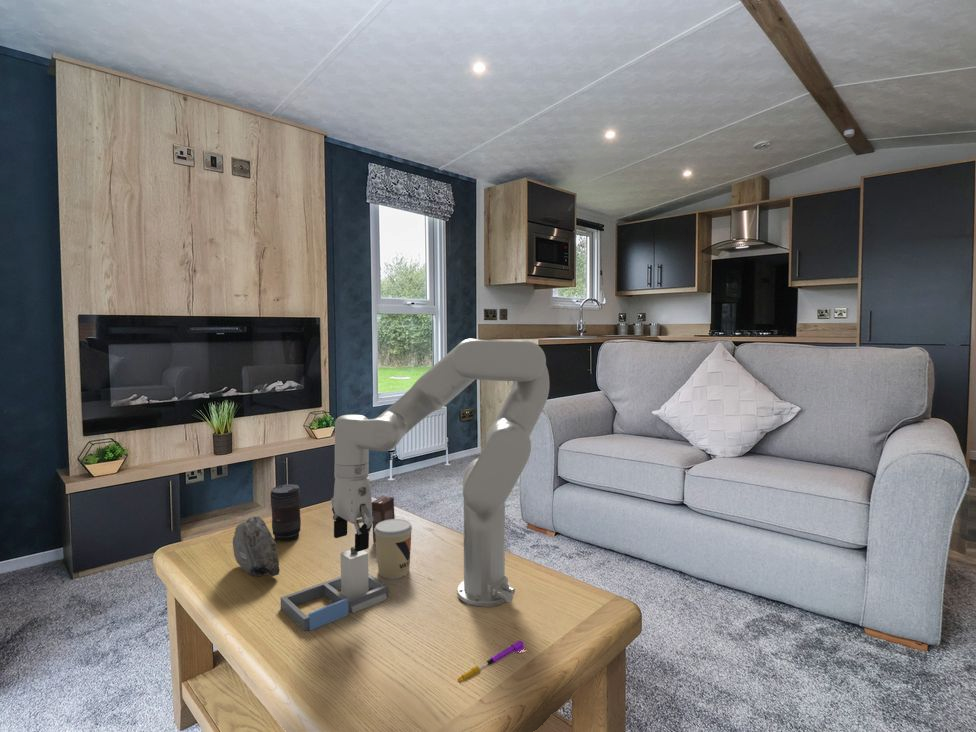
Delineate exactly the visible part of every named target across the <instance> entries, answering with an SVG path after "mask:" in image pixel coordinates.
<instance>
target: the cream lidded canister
mask: <svg viewBox="0 0 976 732" xmlns="http://www.w3.org/2000/svg"><path fill="white" fill-rule="evenodd" d="M412 530H413V525H412V523H411V521H409V520H406V519H403V518H402V519H401V518H395V519H390V520H385V521H382V522H379V523H378V524H377V525H376V527H375V529H374V531H375V538H376V543H375V549H376V559H377V560H376V561H377V569H378V570H377V572H378V575H379V576H380V577H382V578H386V579H397V578H402V577H404V576H406V575H407V574H408V573H409V572H410V565H411V548H412Z"/></svg>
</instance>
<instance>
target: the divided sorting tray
mask: <svg viewBox="0 0 976 732" xmlns="http://www.w3.org/2000/svg"><path fill="white" fill-rule="evenodd" d="M368 580H369V589H370V591H369V592H366V593H363V594H361V595H358V596H356V597H353V598H351V599H348V598H346V597H345V596H344V595H342V594H341V592H340V591H339V590H341V575H340V576H337V577H335V578H332V579H329V580H326V581H324V582H323V581H322V582H320V583H317V584H315V585H313V586H309V587H307V588H304V589H300V590H298V591H296V592H292V593H290V594H287V595H284V596H281V597H280V609H281V610H282V611H283V613H285V614H286V615H287V616H288V617H289V618H290V619H291V620H292V621H293V622H294V623H295V624H296V625H297V626H298V627H299V628H300V629H301V630H303V632H306V631H308V630H309V631H314V630H315V629H318V628H320V627H323V626H325V625H327V624H330V623H333V622H334V621H337V620H339V619H341V618H344V617H347V616H349V614H350V613H351V614H355V613H356V612H359V611H361V610H364V609H366V608H368V607H371V606H374V605H376V604H379V603H381V602H383V601H386V600H387V598H389V595H390V594H389V591H390V589H389V585H387V584H386V583H384V582H383V581H381V580H380V579H378V578H377V577H375V576H374V575H372V574H371V573H369V572H368ZM323 596H324V597H325V598H326V599H328V600H329V601H330V602H331V603H330V604H328V605H325V606H322V607H320V608H318V609H315V610H313V611H309V612H308V614H307V615H306V613H305V612H303V611H302V610H301V609H300V608H299V607H298V606H299V605H301V604H304V603H306V602H309V601H312V600H314V599H315V600H316V599H317V598H319V597H323ZM297 605H298V606H297Z"/></svg>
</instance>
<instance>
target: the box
mask: <svg viewBox="0 0 976 732" xmlns="http://www.w3.org/2000/svg"><path fill="white" fill-rule="evenodd" d="M372 516H373V518H374V519H373V523H372V537H373V538H372V540H373V541H372V543H375V544H376V538H375V531H374V529H375V527H376V525H377V524H378V523H379V522H382V521H385V520H390V519H396V517H395V497H394V496H385V495H384V496H383V495H382V496H380V497H379V498H377V499H375V500H372Z"/></svg>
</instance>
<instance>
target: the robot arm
mask: <svg viewBox="0 0 976 732" xmlns="http://www.w3.org/2000/svg"><path fill="white" fill-rule="evenodd" d="M475 380H477V381H479V380H480V381H491V382H492V381H493V382H495V381H496V382H512V383H511V384H512V385H511V388H510V391H509V393H508V394H507V397H506V399H505V400H504V403H503V405H502V407H501V408H500V411H499V412H498V414H497V416H496V418H495V420H494V421H493V423H492V424H491V426H490V427H489V429H488V431H487V433H486V437H485V438H486V439H485V444H484V447H483V449H482V450H481V452H480V454H479V455H478V457H477V458H474V459H473V460H472V461H470V463H468V465H467V466H466V467H465V470H464V472H463V477H462V497H463V580H462V581H461V582H459V584H458V586H457V589H456V592H457V594H456V595H457V596H458V598H459V599H460V601H462V602H464V604H465V603H466V604H468V605H471V606H475V607H494V606H498V605H501V604H502V603H505V602H506V603H510V602H511V600H512V598H513V596H514V595H515V593H516V589H515V588H514V587H512V586H511V584H510V583H509V577H508V576H507V575H505V574H506V571H505V569H506V566H505V565H506V562H505V561H506V557H505V554H506V553H505V552H506V551H505V549H506V547H505V546H506V545H505V544H506V543H505V542H506V541H505V540H506V535H505V534H506V533H505V532H506V530H505V528H506V503H505V502H506V501H507V499H508V498H509V496H510V495H511V492H512V491H513V489H514V487H515V485H516V484H517V482H518V480H519V478H520V476H521V475H522V473H523V470H525V467H526V465H527V463H528V461H529V458H530V456H531V451H532V441H531V438H530V436H531V434H532V433H533V430H534V428H535V426H536V424H537V423H538V420H539V419H540V416H541V413H542V412H543V410H544V408H545V406H546V403H547V400H548V397H549V393H550V374H549V369H548V367H547V357H546V353H545V352H544V350H543V348H542V347H541V346H539V345H538V344H537V343H535V342H532V341H530V340H525V339H523V340H522V339H521V340H488V339H477V338H467V339H464V340H462V341H461V342H459V343H458V344H457V345H456V346H455V347H454V348H453V349H451V350H450V351H449V352H448V353H447V354H446V355H445V356H443V357H442V358H441V359H440V360H439V361H437V363H435V364H434V365H433V366H431V368H429V369H428V370H427V371H426V372H425V373H423V375H421V376H420V377H419V378H418V379H417V380H416V381H415V383H414V384H413V385H412V386H411V387H410V388H409V389H408V390H407V391H406V392H405V393H404V394H403V395H402V396H401V397H400V398H398V399H397V400H396V401H395V402H394V403H393V404H392V405H391V406H389V407H388V408H386V410H384V411H383V412H382V413H381V414H379V415H378V416H377V417H376V418H370V419H369V418H368V417H366V416H365V415H362V414H343V415H340V416H339V417H337V418H336V419H335V422H334V473H333V474H334V484H333V485H334V486H333V497H331V498H330V502H331V505H332V508H331V511H332V513H333V516H332V519H333V537H334V538H335V539H338V538H342V537H346V536H347V535H348V522H349V523H351V524H353V525H354V528H355V532H356V533H355V534H354V547H355V551H356V552H359V551H362V550H363V551H365V550H369V547H370V532H371V529H372V528H373V524H372V523H373V519H374V518H373V516H372V502H373V500H372V489H371V487H372V486H371V482H370V477H369V475H370V474H369V471H370V470H369V466H370V465H369V464H370V463H369V461H370V459H369V458H370V451H374V452H376V451H377V452H390V451H392V450H393V449H395V448H396V447H397V446H398V444H399V443H400V442H401V440H402V439H403V437H405V436H406V435H407V433H408V432H410V431H411V430H412V429H413V428H415V427H416V426H417V425H418V424H419V423H420V422H421V421H422V420H424V419H425V418H427V417H428V416H429V415H430V414H432V413H433V412H434V413H435V412H436V411H439V410H441V409H442V408H444V407H445V406H446V405H448V404H449V403H450V402H452V401H453V399H454V398H456V397H457V396H458V395H459V394H461V392H462V391H464V390H465V389H466V388H468V386H470V385H471V384H472V383H473V382H475ZM360 524H362V525H361V526H360Z"/></svg>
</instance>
